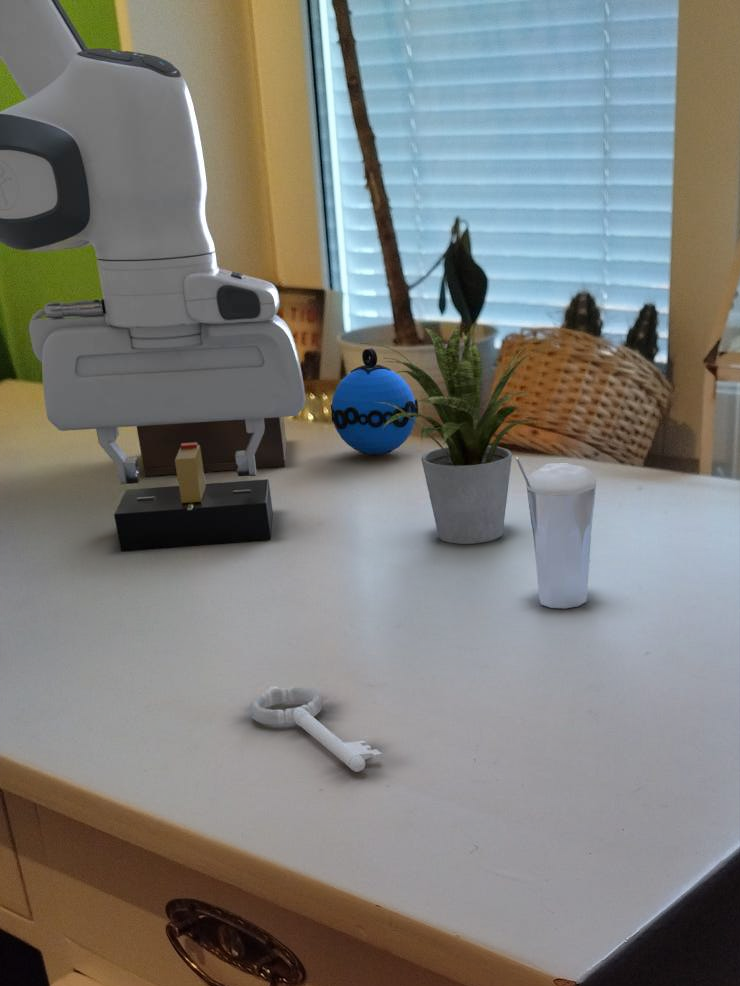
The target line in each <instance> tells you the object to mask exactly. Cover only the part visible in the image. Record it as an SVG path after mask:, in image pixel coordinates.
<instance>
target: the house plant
mask: <svg viewBox="0 0 740 986" xmlns="http://www.w3.org/2000/svg"><path fill="white" fill-rule="evenodd" d="M477 320H478V318H476V319H475V321H474V322H473V323H472V325H471V327H470V329H469V331H468V334H467V336H466V334H465V332H464V331H461V332H462V340H463V350H462V354H461V360H460V349H461V348H460V347H461V346H460V345H461V339H460V338H461V337H460V329H461V328H460V325H458V326H457V327H455V328H454V330H453V331H452V334H451V336H450V337H449V339H448V341H447V345H446V346H445V343H444V341H443V339H442V338H441V336H439V335H438V334H437V333H436V332H435V331H433V329H432V330H431V328H427V327H424V329H425V331H426V332H427V333H428V335H429V337H430V339H431V342H432V345H433V347H434V352H435V358H436V361H437V362H436V363H437V366H438V369H439V372H440V373H441V376H442V378H443V382H444V384H445V388H446V391H447V394H448V395H447V396H445V395H444V393H443V392H442V390H441V389H440V386H439V385H438V383H436V381H434V379H433V378H432V377H431V376H430V375H429V374H428V373H426V371H424V369H422V368H420V367H419V366H418V365H414V364H413V363H412V361H410V360H409V358H407V357H406V356H404V355H403V354H402V353H401V352H399V350H396V349H394V348H391V347H390V346H386V345H382V344H378V343H377V344H376V343H369V345H370V346H377V347H378V346H379V347H382V348H386V349H389V350H392V351H393V352H396V353H398V355H400V356H402V358H404V359H406V360H407V361H408V362H405V361H401V360H399V359H396V358H393V357H392V358H391V357H384V359H385V360H388V361H384V363H394V361H395V363H397V364H402V365H404V366H405V367H407V368H408V369H409V370H399V371H394V372H395V373H397V374H398V373H406V374H407V375H409V376H410V377H411V378H412V379H414V380H415V381H416V382H417V383H418V384H419V385H420V387H421V388H422V389H423V391H424V393H425V394H426V395H427V396H428V397H426V398H421V399H420V400H419V402H423V403H426V404H431V405H432V406H433V407H434V410H436V413H437V415H438V416H439V419H440V420H441V422H442V424H441V423H440V422H438V421H437V420H436V419H435V418H433V417H431V416H430V417H429V416H426V415H422V414H421V413H418V414H417V413H410V412H405V411H403V410H402V409H401V408H399V407H397V406H395V405H393V404H390V403H384V402H375V403H384V404H388V405H391V406H393V407H395V408H397V409H399V410H400V411H401V412H403V413H398V414H396V415H394V416H392V417H391V418H389V419H388V421H387V422H386V424H385V425H384V427H385V426H386V425H387V424H389V423H391V422H392V421H394V420H397V419H399V418H402V417H405V416H407V417H408V418H409V419H410V420H411V421H413V422H414V423H415V424H414V425H416V426H417V427H419V429H421V437H420V441H422V440H423V439H424V437H425V436H429V437H430V438H431V439H432V440H433V441H434V443H436V444H437V445H438V446H439V447H440V448H437V449H434V450H430V451H429V452H426V453H424V454H423V455H422V456H421V458H420V459H421V464H422V468H423V472H424V478H425V482H426V486H427V490H428V495H429V500H430V504H431V508H432V514H433V517H434V522H435V525H436V531H437V536H438V539H439V540H440V541H443V542H446V543H450V544H459V545H472V544H482V543H488V542H492V541H495V540H497V539H499V538H501V537H502V536H503V533H504V528H505V527H504V525H505V519H506V518H505V517H506V509H507V501H508V493H509V486H510V485H509V484H510V476H511V468H512V460H513V454H512V452H511V450H509V449H508V448H504V447H501V446H498V445H499V443H500V442H501V440H502V439H503V437H504V435H505V434H506V433H507V432H508V431H510V430H511V429H512V428H514V427H515V426H517V425H520V424H522V423H528V422H531V423H534V424H535V425H538V424H537V422H536V421H535V420H534V419H533V418H530V419H529V418H528V419H523V420H517V421H513V422H511V423H509V424H508V425H507V426H505V427H504V428H503V429H502V430H501V431H500V432H498V434H497V435H496V437H495V439H494V440H493V442H492V443H491V445H489V444H490V442H491V439H492V438H493V436H494V435H495V434H496V432H497V430H499V428H500V427H501V426H502V424H503V423H504V421H505V419H506V418H508V416H510V415H511V414H513V413H514V412H515V410H518V409H519V407H517V406H513V405H506V406H503V407H501V406H502V405H503V404H504V403H505V402H507V401H508V400H509V399H510V398H512V397H513V396H517V395H518V396H519V395H525V396H526V397H529V395H528V394H527V393H525V392H523V391H520V392H513V393H508V394H505V395H503V396H502V397H500V395H501V393H502V392H503V390H504V388H505V386H506V385H507V382H508V381H509V380H510V378H511V376H512V375H513V373H514V372H515V371H516V369H517V368H518V367H519V366H520V364H521V363H522V362H523V361H524V360H525V359H526V358H527V357H529V356H530V355H532V354H533V353H535V352H537V351H539V350H542V349H545V348H546V347H545V346H543V347H540V348H537V349H535V350H533V351H532V352H530V353H528V354H527V355H525V356H524V357H523V358H521V359H520V360H519V361H517V362H516V359H517V358H518V356H519V355H520V353H521V352H522V351H523V350H524V348H525V347H526V345H523V347H522V348H521V349H520V350H519V351H518V352H517V353H516V354H515V356H514V357H513V358H512V360H511V362H510V364H509V365H508V367H507V368H506V370H505V372H504V373H503V374H502V376H501V377H500V379H499V381H498V383H497V384H496V386H495V388H494V390H493V392H492V394H491V396H490V398H489V401H488V404H487V406H486V408H485V411H484V412H483V414H482V416H481V418H480V419H479V418H478V413H479V408H480V403H481V402H480V401H481V387H482V384H481V383H482V375H483V367H482V358H481V353H480V350H479V348H478V346H477V344H476V342H475V340H474V339H473V338H472V334H473V331H474V328H475V325H476V322H477ZM471 340H472V341H471ZM360 344H362V345H368V343H367V342H361V343H360ZM389 360H390V361H389ZM391 360H392V361H391ZM515 362H516V364H515ZM514 364H515V365H514ZM513 365H514V366H513ZM512 366H513V367H512ZM499 397H500V398H499ZM500 407H501V408H500ZM410 416H417V417H412V418H416V419H417V418H421V419H424V420H425V421H427V422H428V423H430V424H431V426H433V427H431V426H421V424H419V423H418V422H417V421H416V419H415V420H413V419H412V418H411V417H410ZM384 427H383V428H384ZM435 431H436V432H437V433H438V434H439V435H440V436H441V438H442V439H443V444H445V443H446V445H447V446H445V447H443V446H442V444H441V443H440V442H439V441H438V440H437V439H435V437H434V436H432V435H431V433H433V432H435Z"/></svg>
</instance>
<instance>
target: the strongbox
mask: <svg viewBox="0 0 740 986" xmlns="http://www.w3.org/2000/svg"><path fill="white" fill-rule="evenodd" d="M264 425H265V429H264V434H263V436H262V438H261V441H260V443H259V445H258V448H257V450H256V452H255V454H254V455H255V463H256V469H266V468H267V469H268V468H282V467H283V468H284V467H286V461H287V460H286V459H287V446H288V445H287V434H286V425H285V417H275V418H264ZM136 431H137V437H138V443H139V449H140V455H141V460H142V461H141V462H142V466H143V472H144V476H145V477H157V476H168V475H169V476H170V475H171V476H172V475H177V472H176V465H175V458H176V456H177V454H178V451H179V449H180V446H181V443H194V442H197V443H198V445H200V450H201V457H202V464H203V470H204V473H211V472H212V473H213V472H214V473H215V472H226V471H227V472H228V471H237V467H238V466H237V464H236V458H235V454H236V451H243V450H246V448H247V446H248V444H249V441H250V439H251V437H252V434H253V433H247V431H246V423H245V419H243V420H227V421H211V422H195V423H179V424H163V425H147V426H136Z"/></svg>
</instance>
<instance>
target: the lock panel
mask: <svg viewBox="0 0 740 986" xmlns="http://www.w3.org/2000/svg"><path fill="white" fill-rule="evenodd" d="M205 484H206V488H205V491H204V494H203V497H202V501H201V502H194V503H181V497H180V491H179V485H171V486H157V487H143V488H141V487H140V488H130V489H125V491H124V493H123V495H122V497H121V500H120V501H119V504H118V505H117V508H116V509H115V511H114V513H113V517H114V522H115V528H116V533H117V539H118V543H119V550H120V551H121V552H127V551H140V550H141V551H142V550H151V549H166V548H179V547H190V546H191V547H192V546H193V547H194V546H206V545H217V544H219V545H220V544H231V543H244V542H254V541H255V542H257V541H268V540H269V541H270V540H271V539H272V529H273V528H272V527H273V516H274V512H273V506H272V505H273V502H272V496H271V487H270V480H269V479H268V478H267V479H265V478H264V479H255V480H253V479H252V480H240V481H239V480H238V481H225V482H214V483H213V482H211V483H205Z"/></svg>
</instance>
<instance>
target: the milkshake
mask: <svg viewBox="0 0 740 986" xmlns="http://www.w3.org/2000/svg"><path fill="white" fill-rule="evenodd" d="M515 460H516V462H517V465H518V467H519V469H520V471H521V474H522V476H523V478H524V480H525V483H526V484H525V485H526V493H527V501H528V506H529V507H528V509H529V515H530V517H529V518H530V524H531V528H532V529H531V530H532V537H533V546H534V558H535V567H536V568H535V569H536V578H537V588H538V598H539V603H540V605H541V606H544V607H547V608H550V609H563V610H564V609H570V608H578V607H580V606H582V605H584V604H585V603H587V601H588V589H589V588H588V587H589V573H590V560H591V559H590V556H591V544H592V543H591V542H592V529H593V521H594V519H593V518H594V509H595V508H594V507H595V500H596V499H595V497H596V487H597V479H596V477H595V476H594V474H593V473H592V472H591V470H589V469H588V468H586V467H584V466H582V465H576V464H575V465H574V464H571V463H569V462H559V463H554V462H550V463H546V464H544V465H543V466H542V467H540V468H539V469H537V470H535V471H533V472H532V473H531V474H530V475H529V476H528V477H527V475H526V473H525V470H524V468H523V465H522V463H521V461H520V459H519V458H518V457H515Z"/></svg>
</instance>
